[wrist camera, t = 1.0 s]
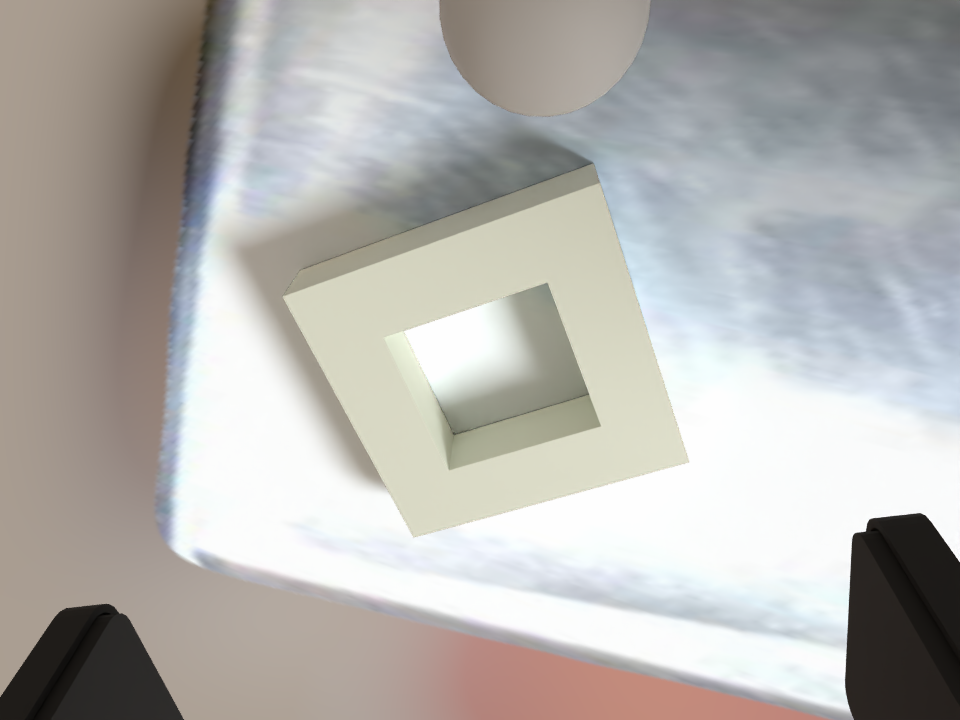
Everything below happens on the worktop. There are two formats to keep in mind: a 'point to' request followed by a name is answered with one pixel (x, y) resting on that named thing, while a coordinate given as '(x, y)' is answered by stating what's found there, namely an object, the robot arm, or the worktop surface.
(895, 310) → the worktop surface
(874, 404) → the worktop surface
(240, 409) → the worktop surface
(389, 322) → the socket block
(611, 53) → the lightbulb
